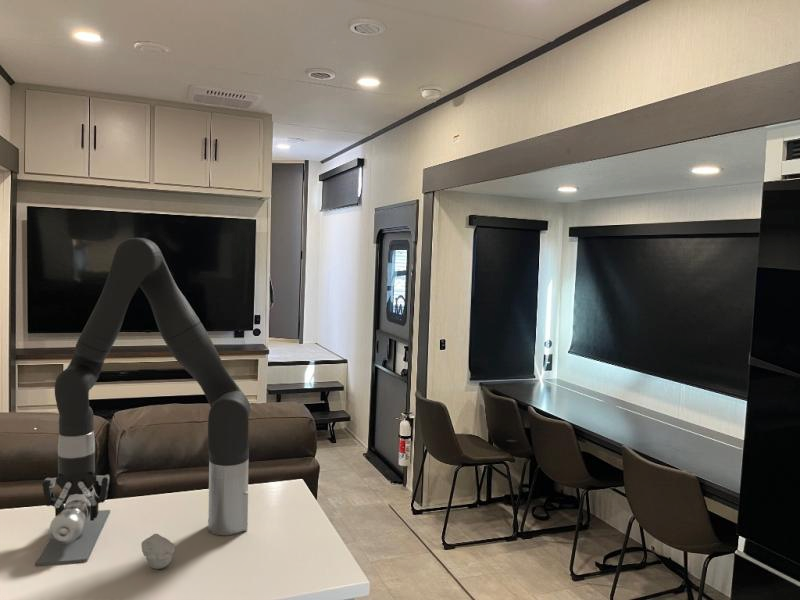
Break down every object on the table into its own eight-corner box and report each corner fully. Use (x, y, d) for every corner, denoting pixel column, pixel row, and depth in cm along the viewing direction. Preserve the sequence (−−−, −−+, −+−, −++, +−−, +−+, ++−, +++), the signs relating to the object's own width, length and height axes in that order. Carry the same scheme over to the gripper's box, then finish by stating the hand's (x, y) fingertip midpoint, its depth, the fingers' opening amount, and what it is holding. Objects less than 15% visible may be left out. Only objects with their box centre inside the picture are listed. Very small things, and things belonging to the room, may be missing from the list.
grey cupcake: (149, 558, 132) (149, 528, 132) (180, 560, 132) (180, 530, 131) (135, 574, 126) (135, 542, 126) (168, 576, 126) (168, 544, 125)
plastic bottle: (39, 532, 129) (65, 494, 148) (61, 553, 130) (84, 513, 150) (64, 512, 130) (87, 476, 149) (87, 533, 131) (106, 495, 150)
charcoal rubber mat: (110, 512, 153) (110, 509, 153) (87, 561, 130) (87, 558, 130) (66, 514, 150) (66, 512, 150) (35, 566, 127) (35, 563, 127)
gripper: (113, 444, 145) (113, 511, 146) (46, 446, 141) (47, 515, 143) (107, 455, 138) (107, 525, 139) (36, 458, 134) (37, 530, 135)
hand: (77, 520), depth 141 cm, fingers closed on plastic bottle, 6 cm apart
